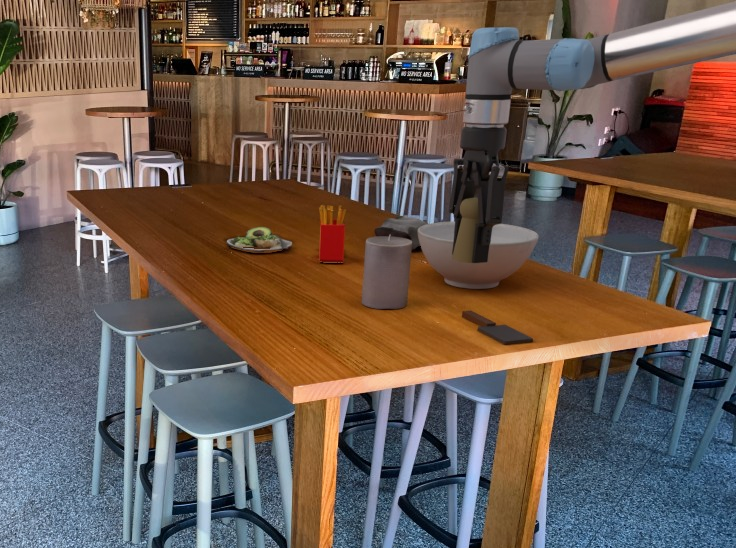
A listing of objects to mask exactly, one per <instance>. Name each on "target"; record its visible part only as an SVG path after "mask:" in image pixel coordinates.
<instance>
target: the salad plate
mask: <svg viewBox="0 0 736 548" xmlns="http://www.w3.org/2000/svg"><path fill="white" fill-rule="evenodd" d="M226 245H227V246H228V247H229V246H230V247H234V248H237V249H241V250H246V251H254V252H264V251H273V250H283V249H285V250H288V249H289V248H290V247H292V245H293V241H290V240H286V239H283V238H281V237H280V236H279V235H277V234H273V232H272V230H271V229H270V228H268V227H266V226H257V227H253V228H250V229H248V230H247V231H246V232H245V235H244V236H243V237H242V236H241V237H240V236H236V237H234V238H229V239H227V240H226ZM230 247H229V248H230ZM243 247H259V248H270V249H254V248H243ZM283 251H284V250H283Z"/></svg>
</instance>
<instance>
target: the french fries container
mask: <svg viewBox="0 0 736 548" xmlns="http://www.w3.org/2000/svg"><path fill="white" fill-rule="evenodd" d="M318 210H319V217H320V223H319V245H318V248H319V249H318V251H319V252H318V262H319V261H322V262H337V263H338V262H340V263H341V262H343V263H344V258H345V257H344V256H345V237H346V222H345V219H346V216H347V212H348V211H347V209H343V206H342V205H338V212H337V218H334V216H335V215H334V213H335V210H334V205H333V204H329V205H325V204H321V205H320V207H318Z"/></svg>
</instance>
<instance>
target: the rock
mask: <svg viewBox="0 0 736 548" xmlns="http://www.w3.org/2000/svg"><path fill="white" fill-rule="evenodd" d="M427 224H429V223H428V222H427V221H424V220H422V219H419V218H418V217H417V218H416V217H414V216H408V215H407V216H406V215H398V216H397V217H395V218H393V217H390V218H389V217H388V218H386V219H384V221H383V222H382V224H381V225H380V226H378V227H375V228H374V230H373V233H374V235H375V237H380V236H389V235H390V234H391V235H390V237H400V238H406V239H409V240H411V241H412V250H411V251H413V250H416V249H417V248H418V247H420V242H419V238H418V228H419V227H421V226H423V225H427Z"/></svg>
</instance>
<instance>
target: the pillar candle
mask: <svg viewBox="0 0 736 548" xmlns="http://www.w3.org/2000/svg"><path fill="white" fill-rule="evenodd" d="M390 235H391V234H390ZM390 235H389V236H380V237H378V236H371V237H368V238H366V240H365V245H364V246H365V248H364V263H363V275H362V276H363V277H362V288H361V305H363V306H365V307H368V308H371V309H376V310H400V309H404V308H405V307H406V306H407V305H408V304H407V303H408V298H409V297H408V296H409V288H410V287H409V285H410V273H411V263H412V262H411V261H412V251H413V250H412V241H411V240H409V239H406V238H400V237H390Z"/></svg>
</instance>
